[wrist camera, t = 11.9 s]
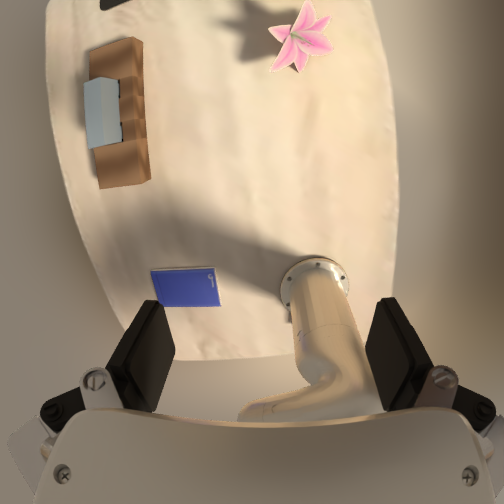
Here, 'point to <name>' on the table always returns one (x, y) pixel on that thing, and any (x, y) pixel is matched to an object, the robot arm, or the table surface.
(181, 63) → the table surface
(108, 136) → the light blue arch block
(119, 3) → the smartphone
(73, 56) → the table surface
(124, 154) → the brown block with holes
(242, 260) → the table surface
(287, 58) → the lily
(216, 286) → the hard drive
